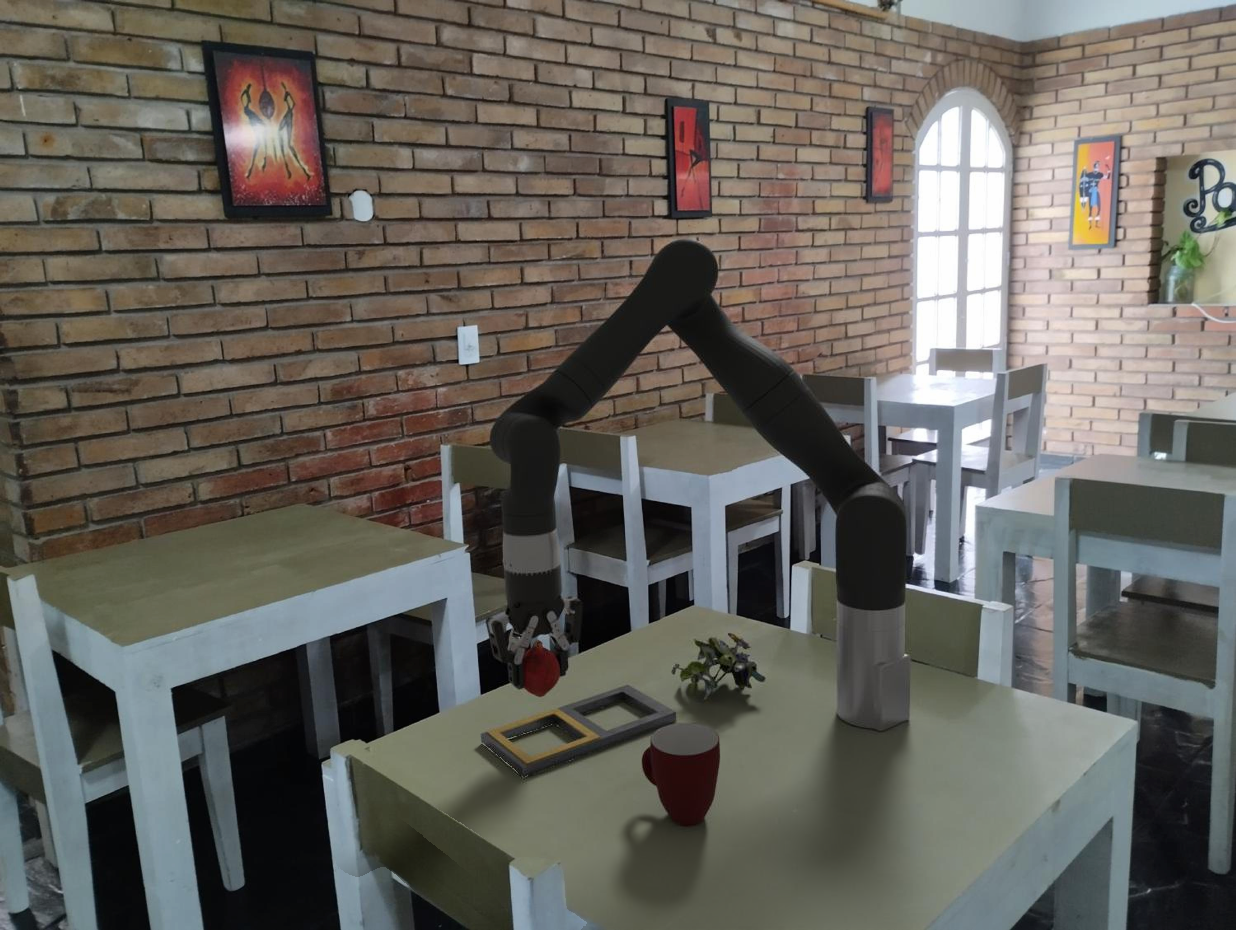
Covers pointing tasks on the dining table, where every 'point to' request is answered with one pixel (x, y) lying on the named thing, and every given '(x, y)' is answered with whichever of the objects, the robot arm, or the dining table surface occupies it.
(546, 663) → the onion
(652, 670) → the dining table surface
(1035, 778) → the dining table surface
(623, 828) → the dining table surface
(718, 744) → the mug
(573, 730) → the grey yellow flat frame
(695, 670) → the passion flower
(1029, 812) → the dining table surface
